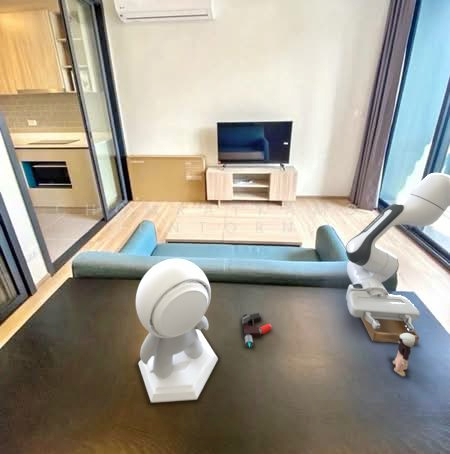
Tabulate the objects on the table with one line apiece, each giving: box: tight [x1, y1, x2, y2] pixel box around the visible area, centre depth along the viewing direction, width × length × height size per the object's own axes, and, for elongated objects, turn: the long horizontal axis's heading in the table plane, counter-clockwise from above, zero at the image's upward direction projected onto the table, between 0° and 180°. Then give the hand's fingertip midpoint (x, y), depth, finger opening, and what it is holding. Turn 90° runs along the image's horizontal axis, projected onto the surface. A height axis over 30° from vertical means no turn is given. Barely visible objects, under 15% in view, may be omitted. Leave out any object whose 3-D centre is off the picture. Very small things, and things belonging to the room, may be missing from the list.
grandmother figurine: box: [392, 333, 415, 377], centre depth 69 cm, size 8×4×13 cm, turn 165°
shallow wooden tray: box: [360, 317, 420, 346], centre depth 85 cm, size 13×15×4 cm
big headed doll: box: [135, 258, 219, 404], centre depth 66 cm, size 20×23×35 cm
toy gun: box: [241, 312, 272, 348], centre depth 81 cm, size 10×12×5 cm
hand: (394, 328), depth 74 cm, fingers open, 8 cm apart
